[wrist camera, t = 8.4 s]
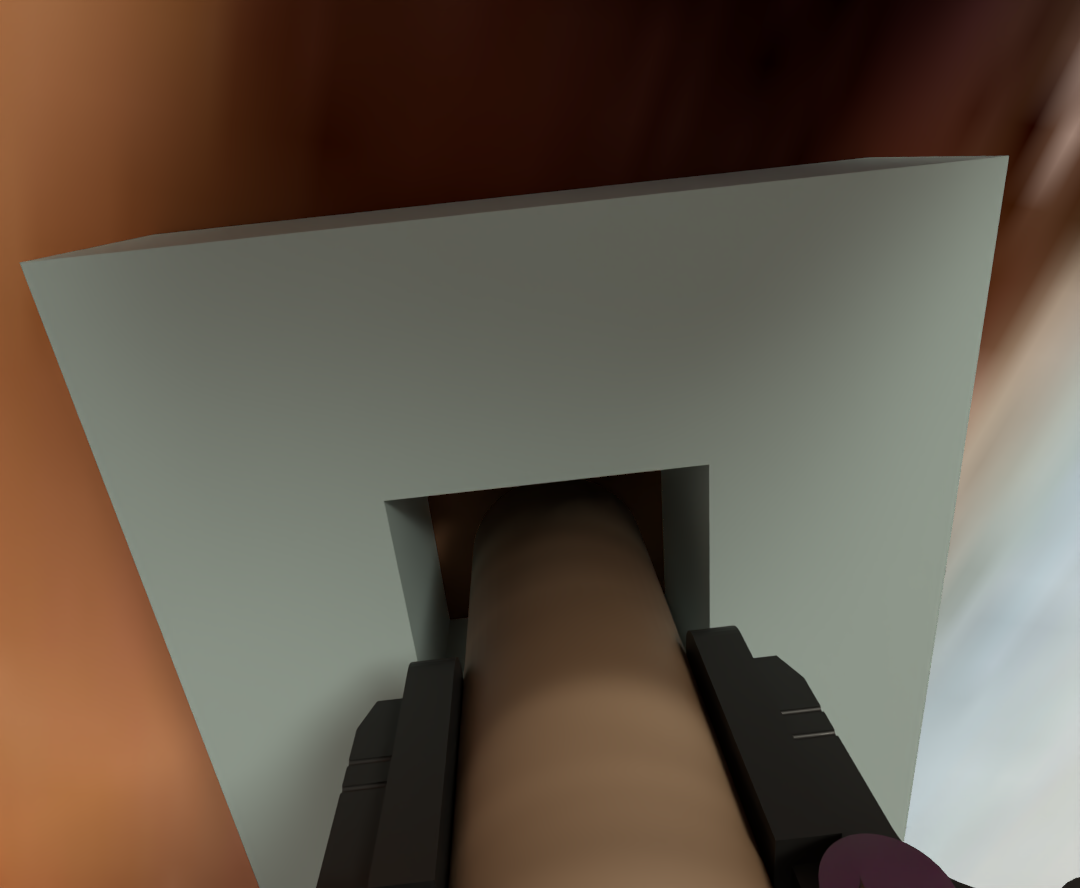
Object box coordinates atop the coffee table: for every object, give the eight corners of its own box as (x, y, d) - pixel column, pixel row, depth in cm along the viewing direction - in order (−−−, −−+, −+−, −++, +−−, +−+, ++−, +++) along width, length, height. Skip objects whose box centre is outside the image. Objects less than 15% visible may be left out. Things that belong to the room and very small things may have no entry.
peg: (461, 487, 14) (301, 1775, 3) (637, 467, 14) (1169, 1660, 3) (484, 631, 15) (438, 1877, 4) (644, 613, 15) (1022, 1802, 4)
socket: (153, 234, 13) (20, 262, 10) (869, 157, 13) (1008, 155, 10) (316, 766, 19) (270, 916, 15) (824, 707, 19) (904, 841, 15)
